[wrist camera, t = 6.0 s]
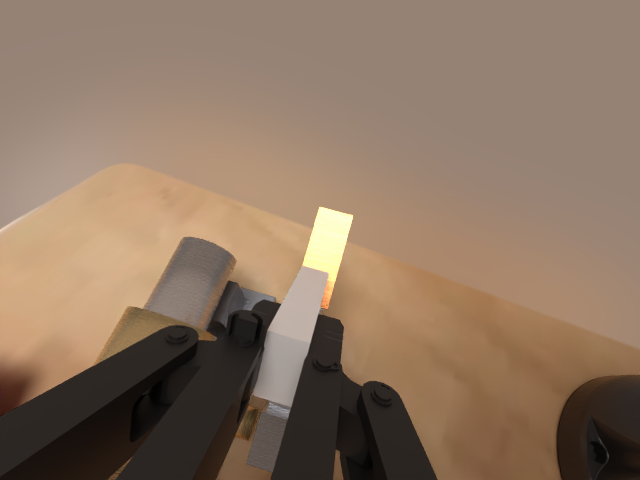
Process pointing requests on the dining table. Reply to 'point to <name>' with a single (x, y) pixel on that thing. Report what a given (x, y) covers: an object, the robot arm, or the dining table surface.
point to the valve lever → (326, 258)
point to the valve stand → (189, 306)
